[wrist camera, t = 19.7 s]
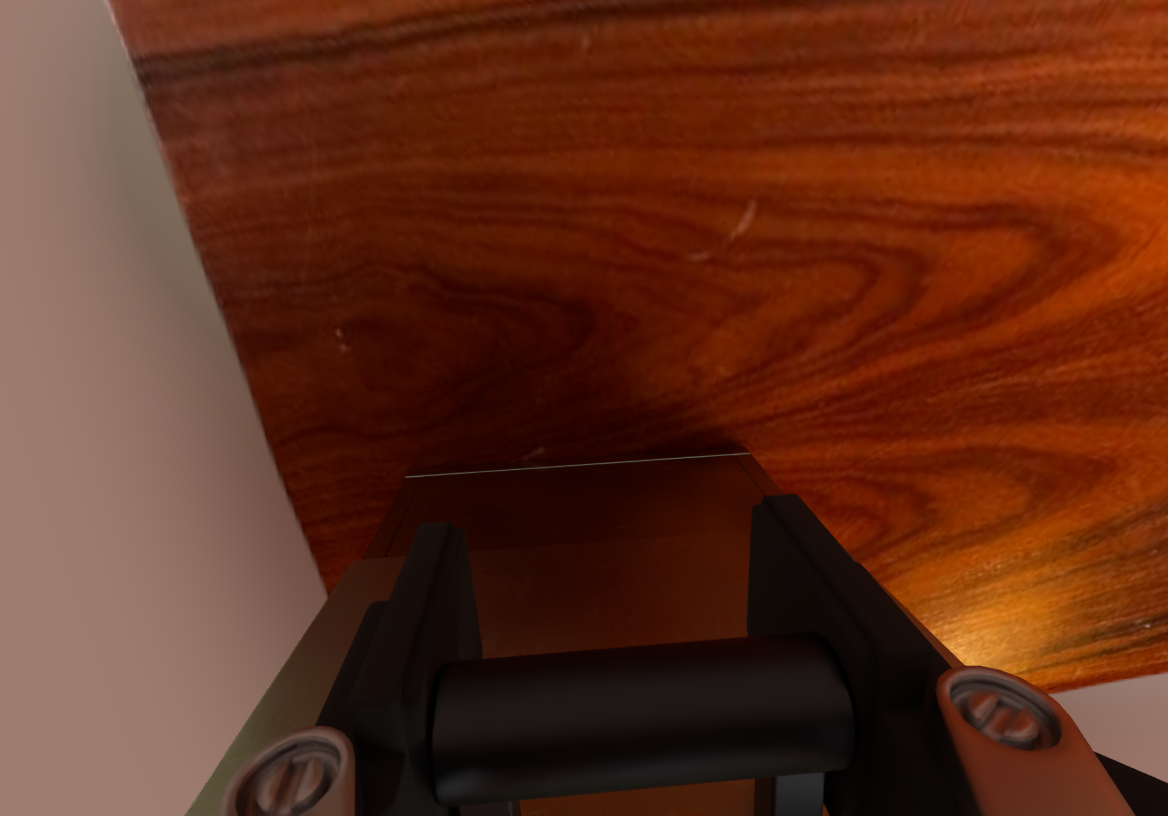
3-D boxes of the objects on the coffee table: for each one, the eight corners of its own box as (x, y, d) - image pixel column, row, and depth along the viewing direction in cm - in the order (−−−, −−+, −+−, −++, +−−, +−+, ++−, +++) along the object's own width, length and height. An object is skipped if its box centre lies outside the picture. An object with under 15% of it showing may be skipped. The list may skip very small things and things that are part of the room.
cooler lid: (1363, 1118, 6) (1521, 758, 5) (-80, 1298, 6) (-295, 936, 5) (819, 545, 20) (827, 404, 18) (356, 581, 19) (332, 436, 18)
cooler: (734, 660, 31) (788, 789, 24) (443, 684, 30) (413, 825, 23) (745, 446, 27) (814, 528, 20) (408, 468, 26) (358, 562, 19)
